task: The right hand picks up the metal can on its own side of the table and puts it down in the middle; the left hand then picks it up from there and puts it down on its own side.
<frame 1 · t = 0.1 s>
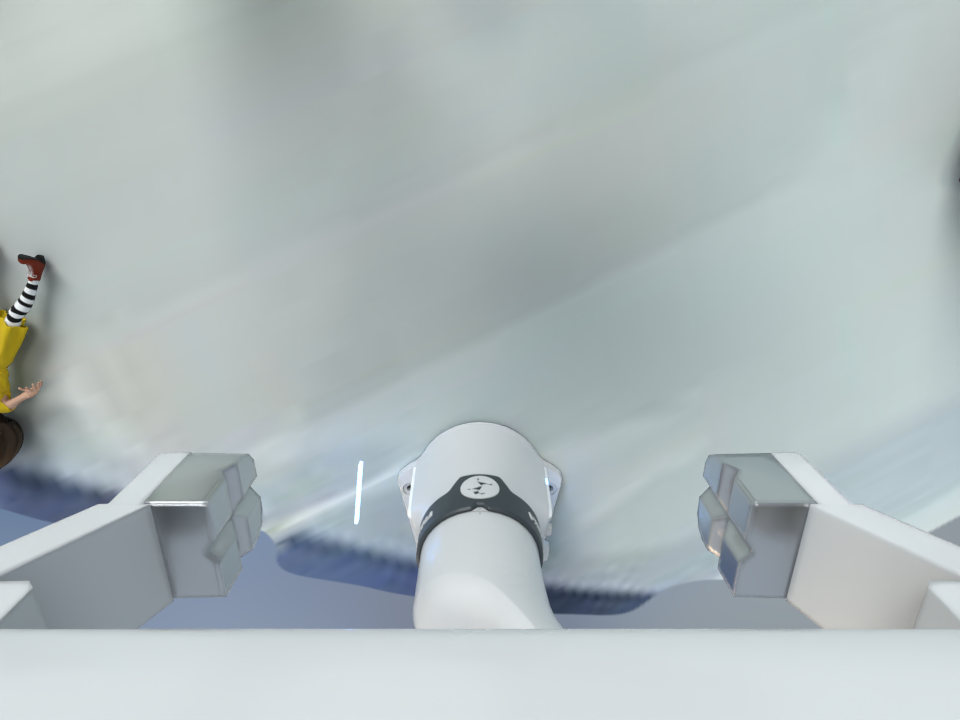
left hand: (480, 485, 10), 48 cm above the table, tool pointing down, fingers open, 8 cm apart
figurine: (11, 353, 61), on the table
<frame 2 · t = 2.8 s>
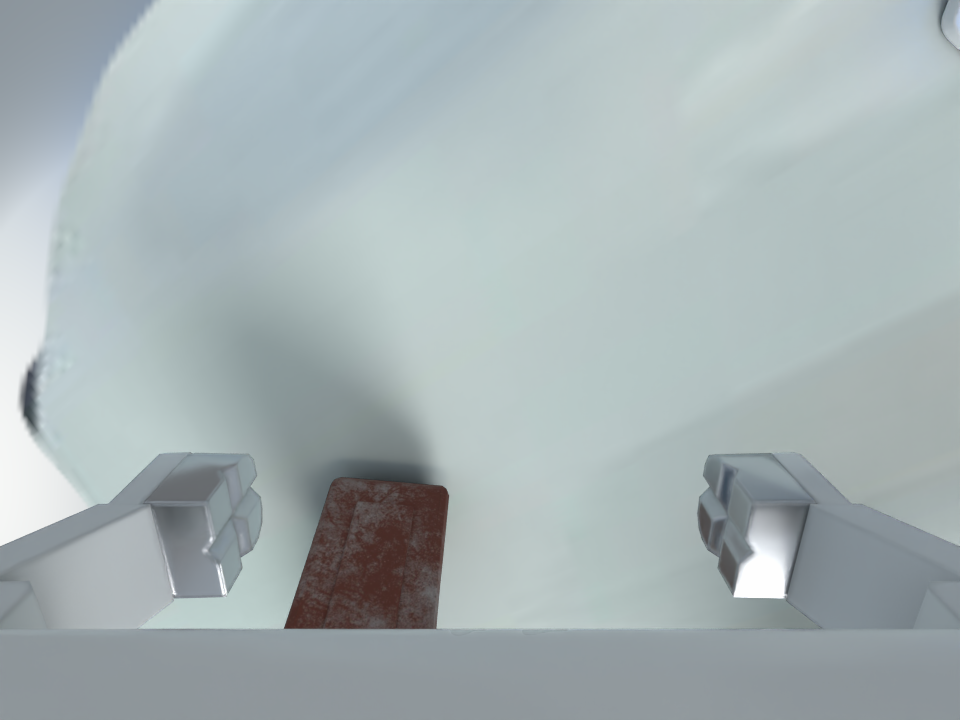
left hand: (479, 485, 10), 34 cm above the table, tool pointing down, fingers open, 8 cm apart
sledgehammer: (385, 641, 57), on the table
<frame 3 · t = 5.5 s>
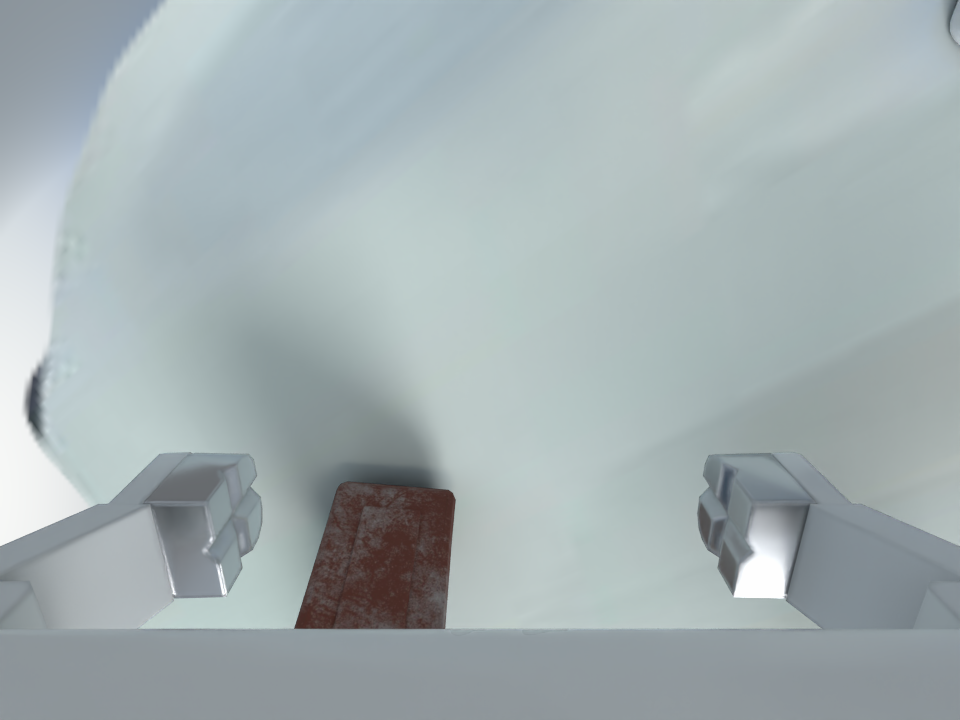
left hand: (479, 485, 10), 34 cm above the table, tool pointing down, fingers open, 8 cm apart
sledgehammer: (391, 644, 57), on the table
when the right hand's fingers open (2 cm above the table, at t = 8.2 s): can stays where it is, on the table.
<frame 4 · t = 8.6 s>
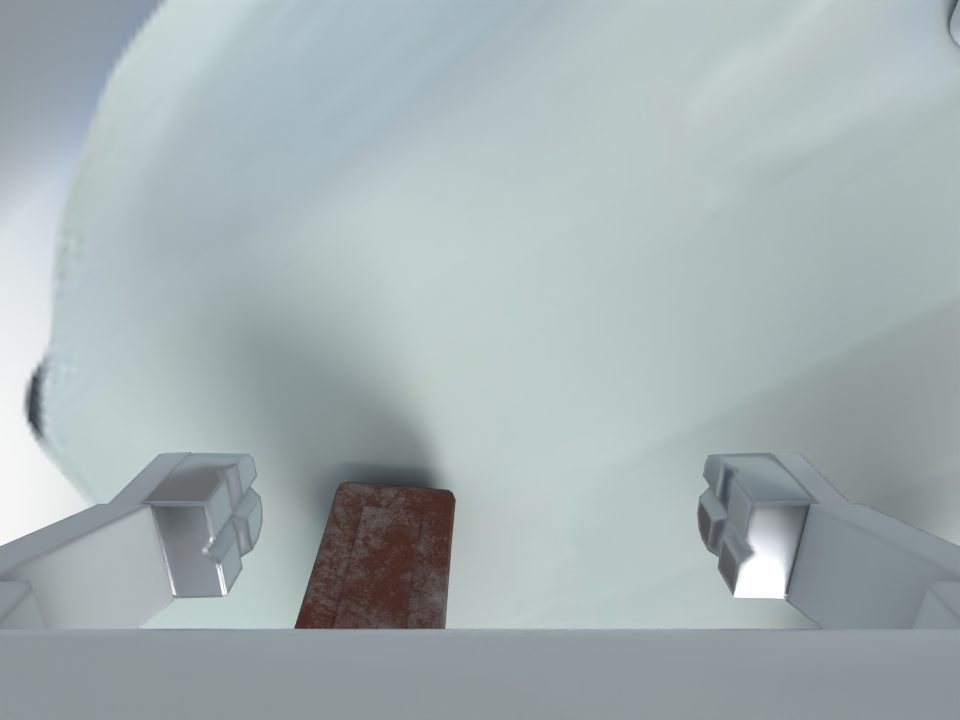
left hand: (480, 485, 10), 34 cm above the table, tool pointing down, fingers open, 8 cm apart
sledgehammer: (391, 644, 57), on the table
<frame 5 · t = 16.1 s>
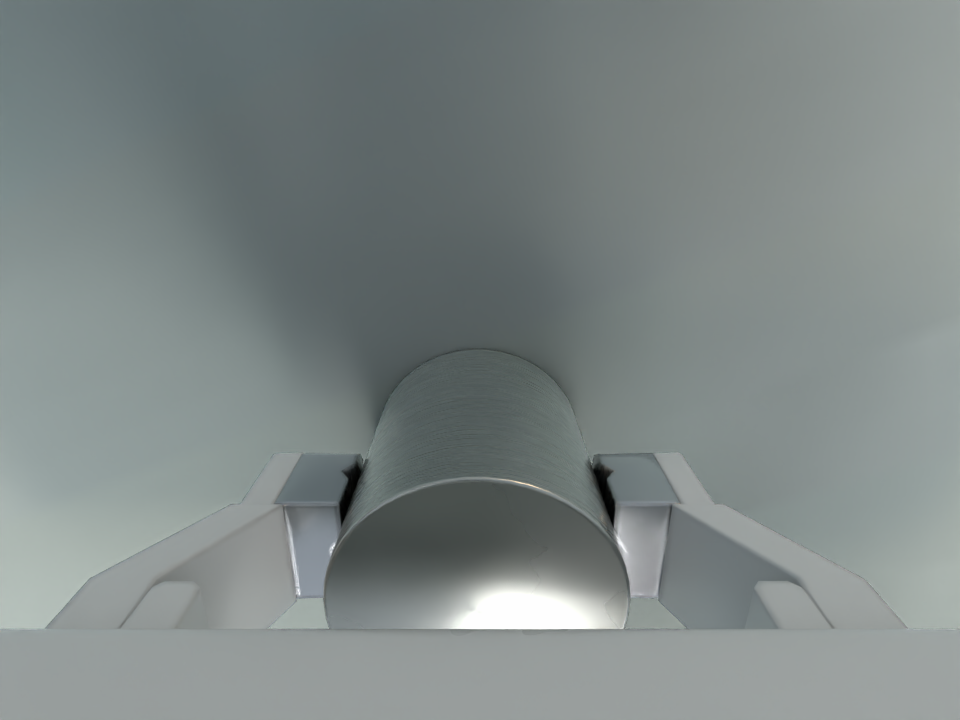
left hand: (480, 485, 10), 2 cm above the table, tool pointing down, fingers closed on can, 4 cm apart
can: (478, 440, 12), on the table, touching left hand
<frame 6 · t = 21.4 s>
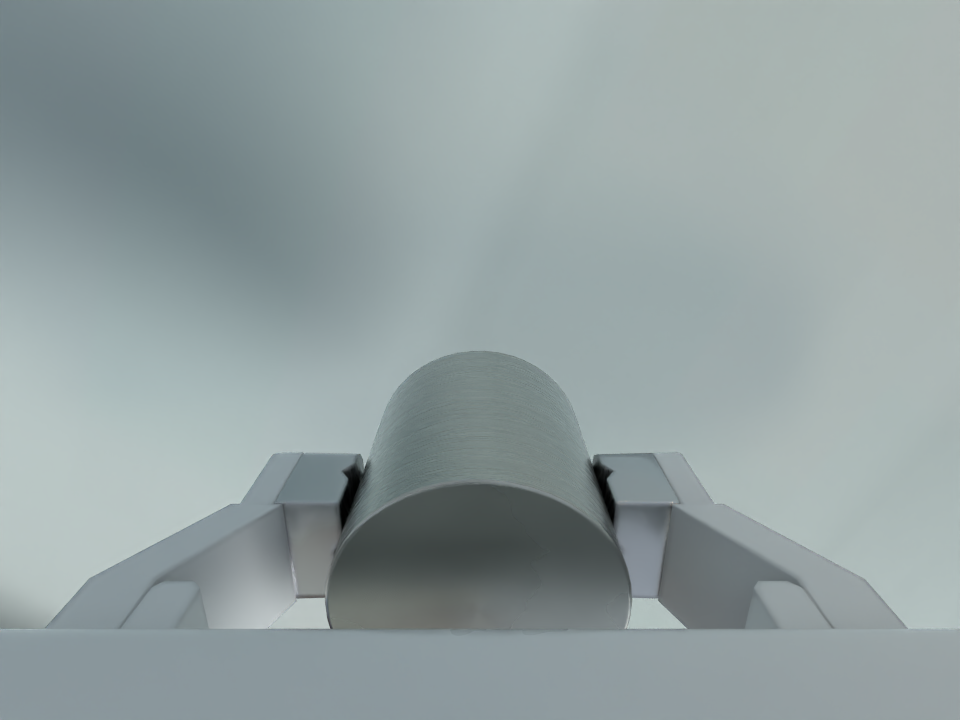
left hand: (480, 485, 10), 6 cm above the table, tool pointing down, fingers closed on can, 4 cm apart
can: (479, 442, 12), point 5 cm above the table, touching left hand
when the left hand's fingers open (3 cm above the table, at t = 26.8 s): can stays where it is, on the table.
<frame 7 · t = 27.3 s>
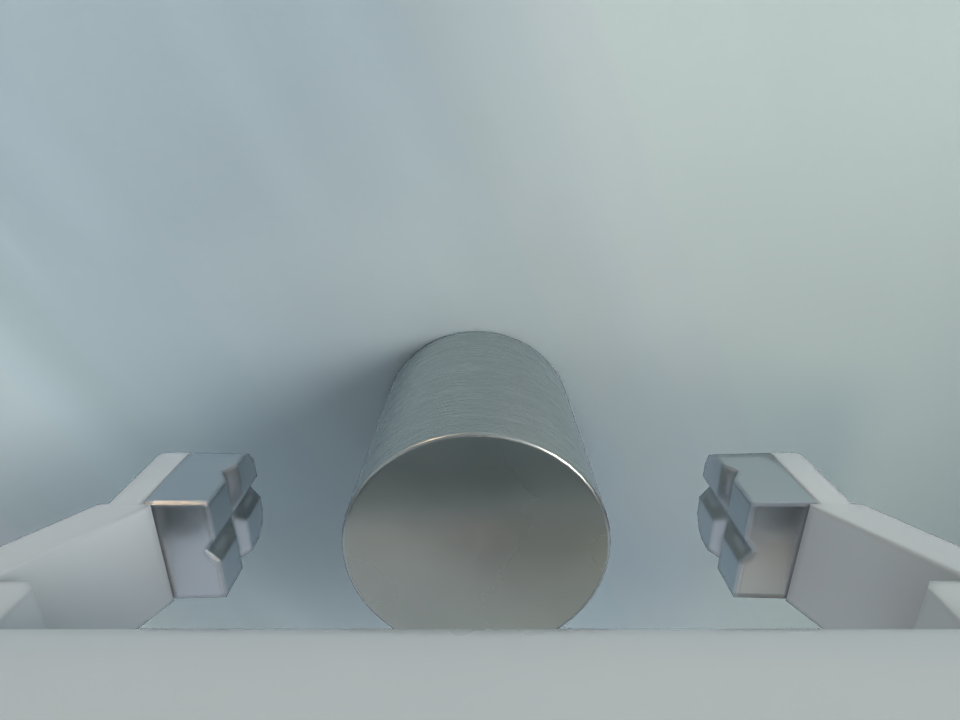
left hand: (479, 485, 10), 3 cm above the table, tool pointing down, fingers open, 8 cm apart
can: (477, 416, 13), on the table
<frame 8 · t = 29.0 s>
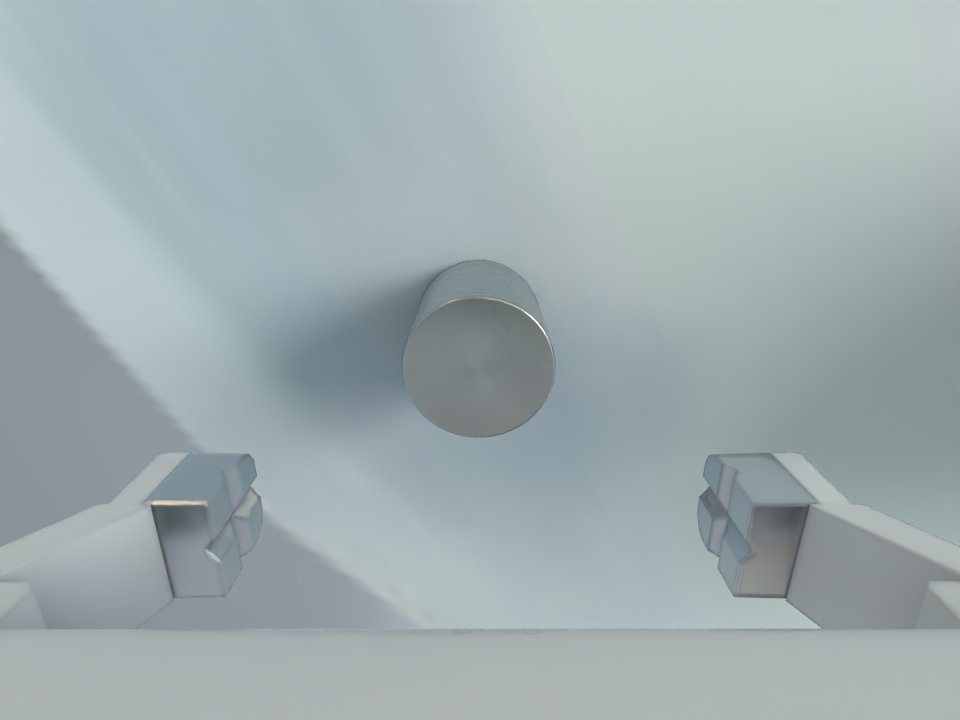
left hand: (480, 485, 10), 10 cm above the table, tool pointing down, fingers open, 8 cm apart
can: (479, 319, 20), on the table
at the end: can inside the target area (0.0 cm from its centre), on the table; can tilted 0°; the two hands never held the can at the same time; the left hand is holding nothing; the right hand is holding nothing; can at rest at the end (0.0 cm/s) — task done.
